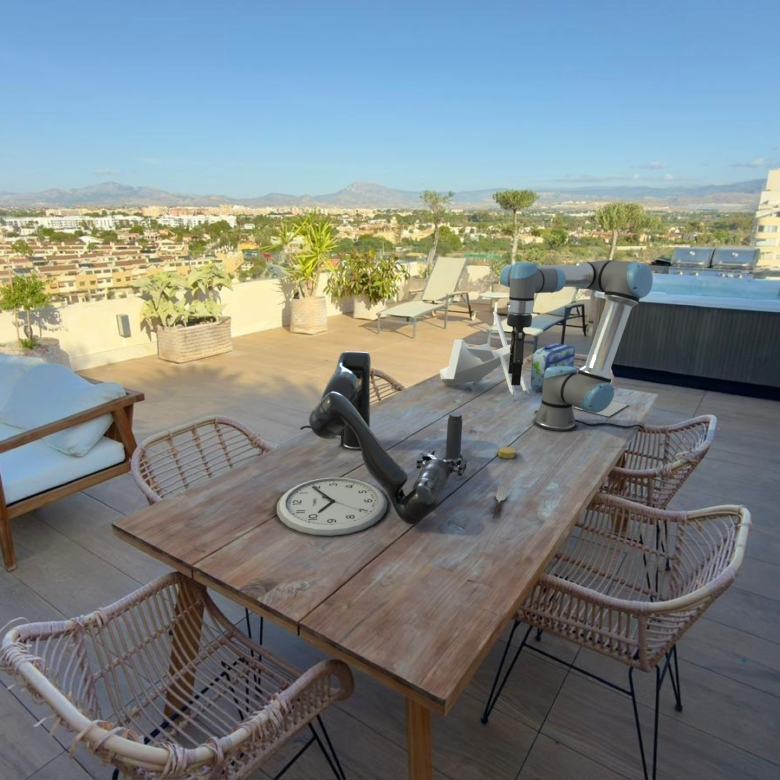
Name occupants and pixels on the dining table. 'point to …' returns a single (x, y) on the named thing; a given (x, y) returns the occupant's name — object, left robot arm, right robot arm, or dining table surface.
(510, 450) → the lid
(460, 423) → the dark grey cylinder
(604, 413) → the invitation card
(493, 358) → the white plastic object
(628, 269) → the right robot arm
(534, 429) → the dining table surface
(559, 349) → the lunch box
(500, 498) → the fork
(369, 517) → the wall clock
